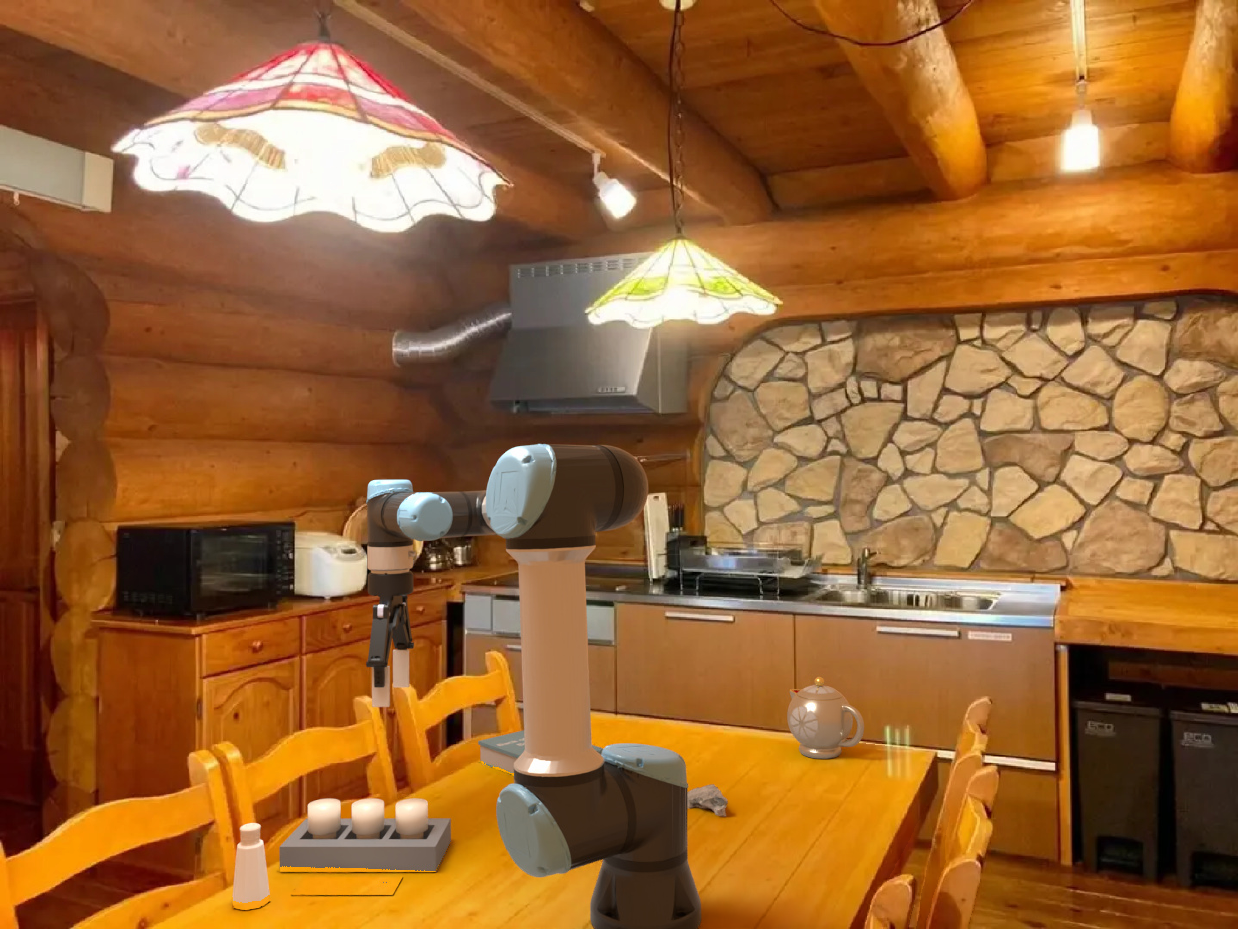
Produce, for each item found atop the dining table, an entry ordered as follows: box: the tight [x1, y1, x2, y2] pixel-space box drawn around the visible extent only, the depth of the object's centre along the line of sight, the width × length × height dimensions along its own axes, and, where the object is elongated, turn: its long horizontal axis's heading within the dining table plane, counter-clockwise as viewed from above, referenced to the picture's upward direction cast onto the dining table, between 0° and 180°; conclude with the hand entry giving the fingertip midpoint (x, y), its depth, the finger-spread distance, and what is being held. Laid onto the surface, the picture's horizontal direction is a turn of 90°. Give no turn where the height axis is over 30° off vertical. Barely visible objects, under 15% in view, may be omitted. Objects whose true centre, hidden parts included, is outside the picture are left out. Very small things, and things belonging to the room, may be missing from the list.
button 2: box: [395, 797, 429, 839], centre depth 157 cm, size 5×5×6 cm
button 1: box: [307, 798, 342, 839], centre depth 157 cm, size 5×5×6 cm
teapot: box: [786, 676, 865, 760], centre depth 209 cm, size 18×14×16 cm
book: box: [477, 729, 604, 773], centre depth 203 cm, size 23×16×5 cm
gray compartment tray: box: [278, 817, 452, 872], centre depth 157 cm, size 12×24×4 cm, turn 89°
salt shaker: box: [232, 822, 271, 903], centre depth 141 cm, size 5×5×11 cm
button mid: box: [351, 797, 385, 839], centre depth 157 cm, size 5×5×6 cm
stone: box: [687, 783, 729, 818], centre depth 178 cm, size 6×12×4 cm, turn 10°
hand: (391, 696), depth 167 cm, fingers open, 13 cm apart
